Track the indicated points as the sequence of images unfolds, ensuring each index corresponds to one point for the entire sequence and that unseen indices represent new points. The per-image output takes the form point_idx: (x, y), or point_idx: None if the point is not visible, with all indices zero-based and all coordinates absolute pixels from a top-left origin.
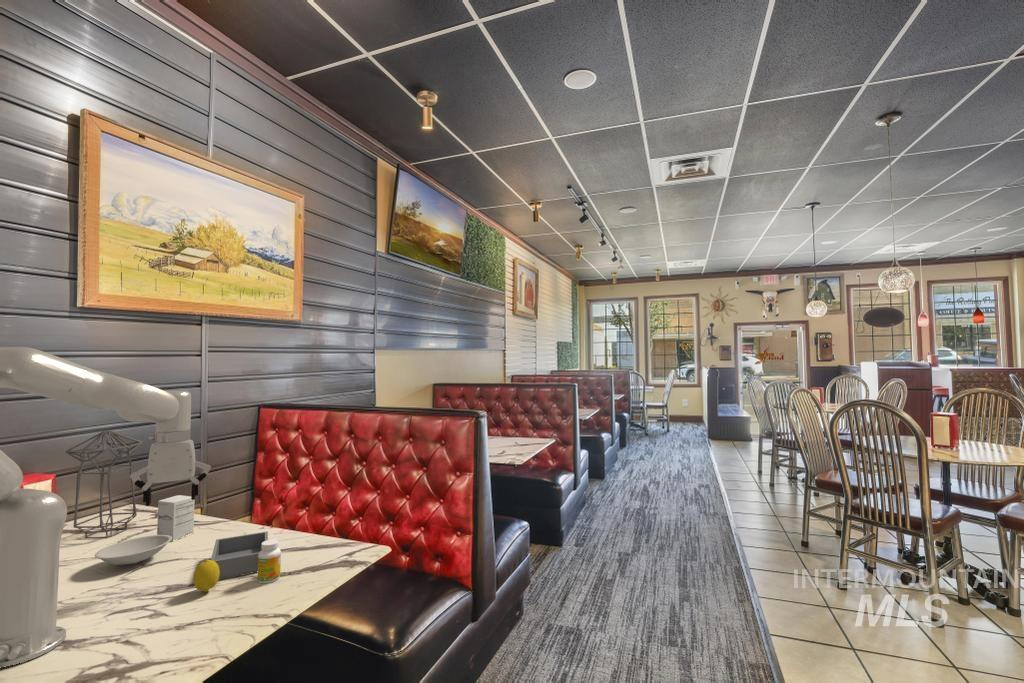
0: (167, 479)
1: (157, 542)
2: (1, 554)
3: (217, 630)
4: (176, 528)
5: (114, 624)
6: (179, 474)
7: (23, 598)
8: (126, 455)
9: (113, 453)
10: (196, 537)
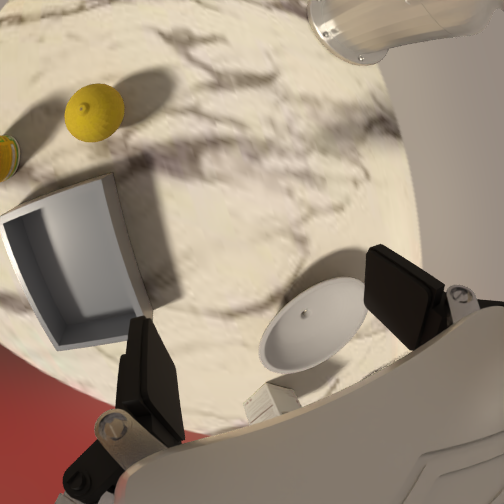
0: (408, 378)
1: (284, 357)
2: None
3: None
4: (268, 401)
5: (249, 32)
6: (297, 491)
7: None
8: None
9: None
10: (231, 393)
